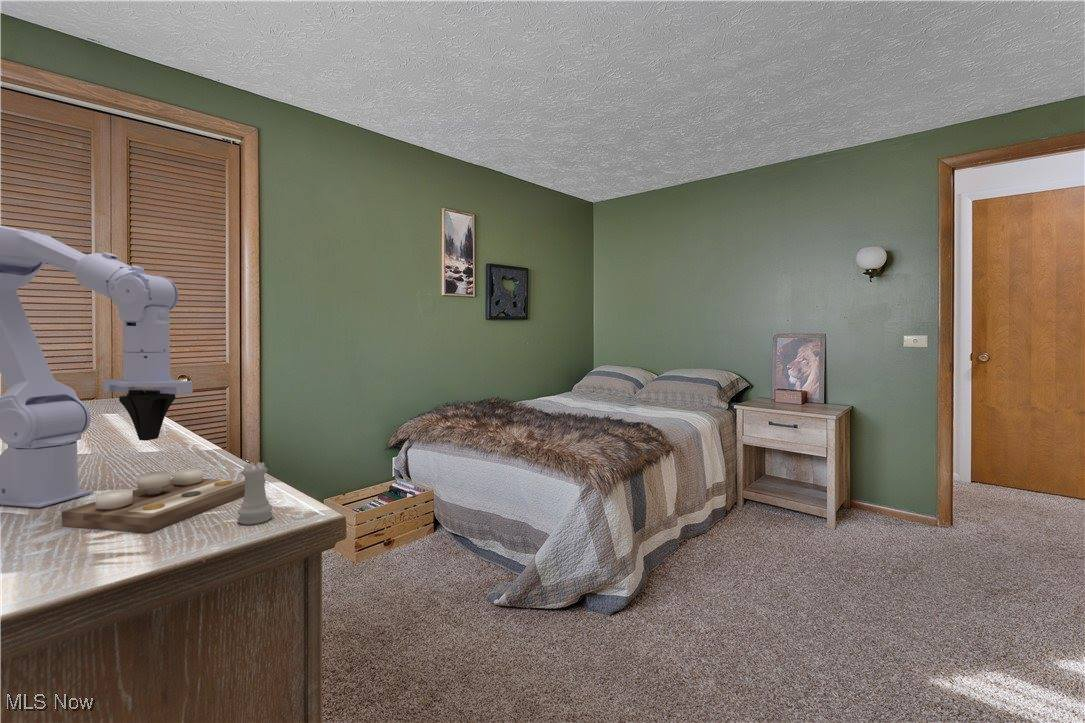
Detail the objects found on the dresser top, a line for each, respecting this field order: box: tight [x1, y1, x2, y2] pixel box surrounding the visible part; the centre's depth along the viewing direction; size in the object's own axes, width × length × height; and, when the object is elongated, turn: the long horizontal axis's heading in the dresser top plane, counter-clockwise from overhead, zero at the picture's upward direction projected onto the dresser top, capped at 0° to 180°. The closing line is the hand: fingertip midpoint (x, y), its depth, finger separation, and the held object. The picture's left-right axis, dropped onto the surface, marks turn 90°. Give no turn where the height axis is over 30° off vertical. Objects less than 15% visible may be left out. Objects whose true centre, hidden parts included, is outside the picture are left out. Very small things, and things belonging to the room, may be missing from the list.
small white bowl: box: [172, 468, 204, 487], centre depth 83 cm, size 4×4×3 cm
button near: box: [94, 488, 134, 511], centre depth 71 cm, size 4×4×3 cm
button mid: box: [136, 470, 171, 495], centre depth 77 cm, size 4×4×3 cm
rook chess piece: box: [236, 461, 274, 526], centre depth 71 cm, size 4×4×8 cm
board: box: [61, 478, 245, 534], centre depth 77 cm, size 14×18×2 cm
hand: (148, 439), depth 79 cm, fingers closed
